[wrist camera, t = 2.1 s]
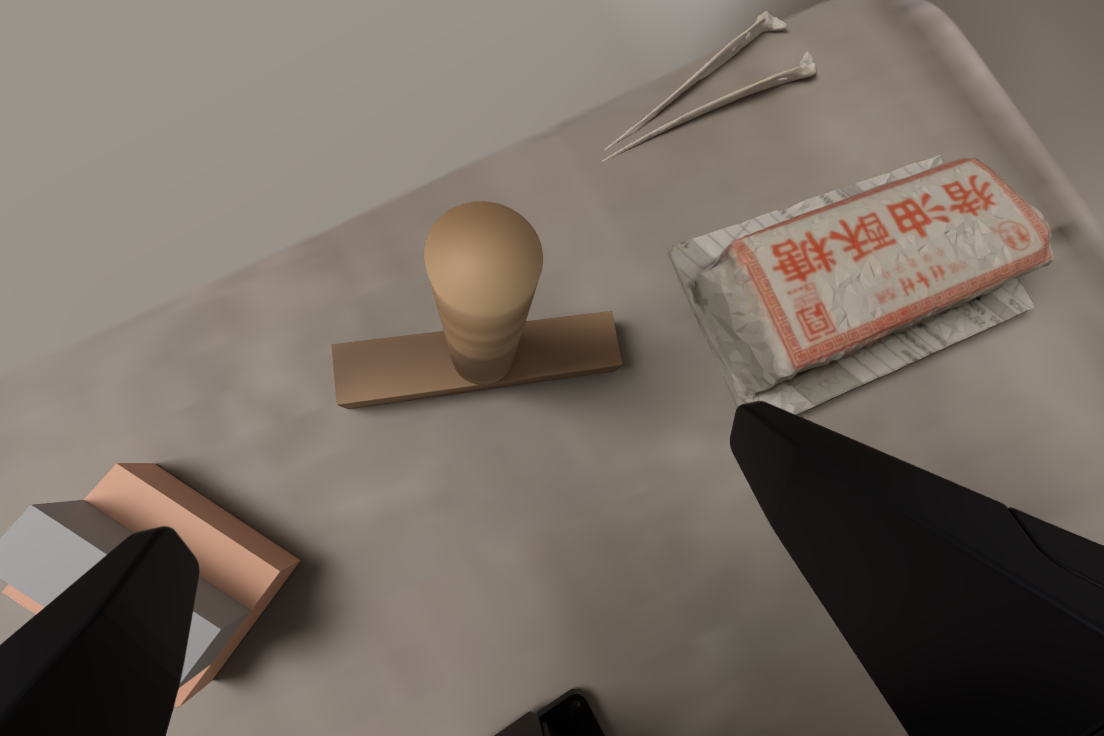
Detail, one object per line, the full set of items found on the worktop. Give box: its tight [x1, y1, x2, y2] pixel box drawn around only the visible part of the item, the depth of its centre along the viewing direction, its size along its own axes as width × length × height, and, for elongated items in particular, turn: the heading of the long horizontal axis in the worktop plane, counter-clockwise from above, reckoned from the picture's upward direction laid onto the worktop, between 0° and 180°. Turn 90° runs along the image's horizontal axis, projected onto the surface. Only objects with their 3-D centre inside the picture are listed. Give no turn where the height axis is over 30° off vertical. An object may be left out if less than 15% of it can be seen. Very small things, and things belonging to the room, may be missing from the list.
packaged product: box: [668, 154, 1054, 415], centre depth 23 cm, size 18×5×10 cm
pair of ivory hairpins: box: [601, 11, 816, 162], centre depth 26 cm, size 18×5×2 cm, turn 127°
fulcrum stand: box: [0, 463, 301, 708], centre depth 16 cm, size 7×5×4 cm
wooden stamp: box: [332, 201, 622, 409], centre depth 16 cm, size 3×12×12 cm, turn 100°
